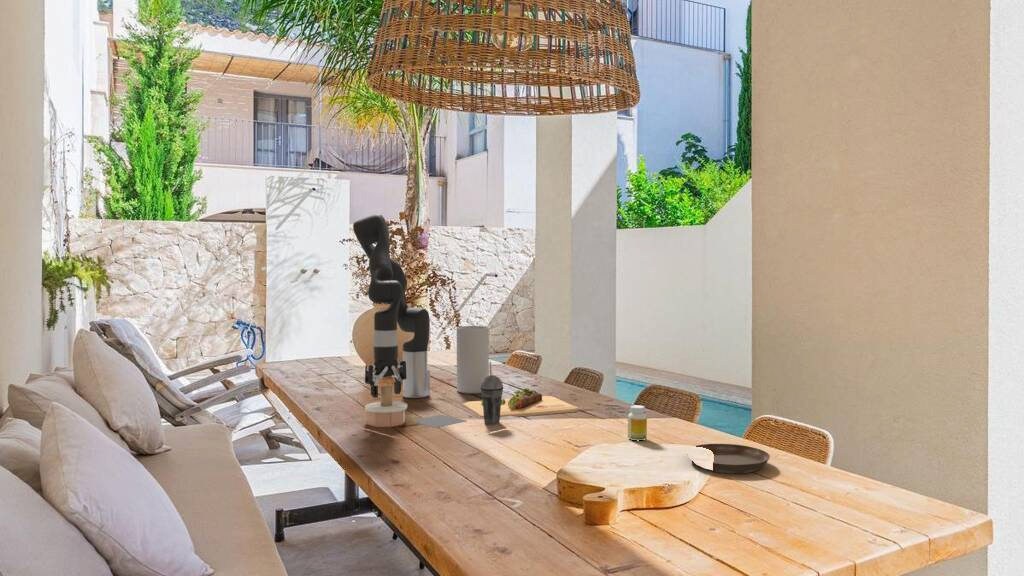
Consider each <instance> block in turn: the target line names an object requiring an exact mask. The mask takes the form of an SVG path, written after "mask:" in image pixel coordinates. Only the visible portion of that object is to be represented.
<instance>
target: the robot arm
mask: <svg viewBox="0 0 1024 576" xmlns="http://www.w3.org/2000/svg"><path fill="white" fill-rule="evenodd" d="M352 229H353V233H354V235H355V237H356V239H357V241H358V243H359V245H360V246H361V249H363V252H364V253H365V255H366V256H367V258H368V260H369V261H368V268H369V272H370V283H369V286H368V290H367V291H368V292H367V294H368V298H369V300H370V302H373V304H389V306H388V308H386V309H382V310H378V311H376V312H375V313H374V317H373V319H374V320H373V321H374V323H373V325H374V326H373V327H374V328H373V329H374V332H373V359H374V363H373V364H365V367H364V369H365V371H364V384H367V385H368V386H370V396H371V397H372V398H374V399H377V398H379V386H378V384H379V383H380V381H381V380H382V379H383V378H387V377H391V378H392V379H393V380H394V381H393V384H394V386H393V388H394V389H393V392H394V394H395V395H400V394H401V392H402V397H404V398H410V399H417V398H418V399H419V398H426V397H428V396H431V395H430V393H431V391H430V390H431V383H430V381H431V379H430V378H431V376H430V374H431V373H430V370H429V369H428V364H429V363H428V358H429V357H428V346H429V342H430V327H431V326H430V319H431V318H430V314H429V311H428V310H427V309H426V308H422V307H421V308H420V307H409V305H408V304H407V301H406V299H405V295H406V291H407V287H408V279H407V276H406V274H405V271H404V269H403V268H402V265H401V264H400V263H399V262H398V261H396V260H395V259H393V258H391V254H390V251H391V248H390V245H391V244H390V242H391V241H390V229H389V226H388V223H387V221H386V219H385V217H384V216H383V215H382V214H380V213H375V214H372V215H369V216H367V217H364V218H361V219H358V220H356V221H354V222H353V225H352ZM374 244H376V245H374ZM398 327H399V328H400V330H401V331H403V332H405V333H413V334H414V335H413V338H412V339H411V340H409V341H405V342H404V343H403V344H402V360H401V359H400V360H398V358H399V335H398ZM397 369H398V370H397Z"/></svg>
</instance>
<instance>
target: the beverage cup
mask: <svg viewBox="0 0 1024 576" xmlns="http://www.w3.org/2000/svg"><path fill="white" fill-rule="evenodd" d="M480 389H481V393H480V394H481V399H482V400H483V412H484V417H483V420H484V424H485V425H489V426H490V425H492V426H493V425H498V424H500V421H501V416H500V410H501V399H503V393H504V392H503V391H504V385H503V382H502V379H500V377H498V376H497V375H494V374H493V373H492V361H489V376H487V377H485V378H484V380H483V381H482V383H481V388H480Z"/></svg>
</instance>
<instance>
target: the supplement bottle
mask: <svg viewBox="0 0 1024 576" xmlns="http://www.w3.org/2000/svg"><path fill="white" fill-rule="evenodd" d="M645 411H646V410H645V406H644V405H639V404H638V405H637V404H635V405H630V412H629V414H628V415H627V417H628V418H627V438H629V439H631V440H630V441H632V440H644V439H646V440H647V436H648V435H647V431H648V430H647V429H648V428H647V427H648V424H647V423H648V421H647V420H648V416H647V414H646V413H645ZM629 439H628V440H629Z"/></svg>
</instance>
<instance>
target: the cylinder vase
mask: <svg viewBox="0 0 1024 576" xmlns="http://www.w3.org/2000/svg"><path fill="white" fill-rule="evenodd" d="M489 329H490V327H489V326H483V325H464V326H457V327H456V391H457V392H459V393H460V394H468V395H476V394H479V395H480V394H481V389H480V388H481V383H482V381H483V380H484V378H485V377H487V376H490V363H489V362H490V360H489V359H490V348H489V347H490V340H489V339H490V336H489V335H490V330H489Z"/></svg>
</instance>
